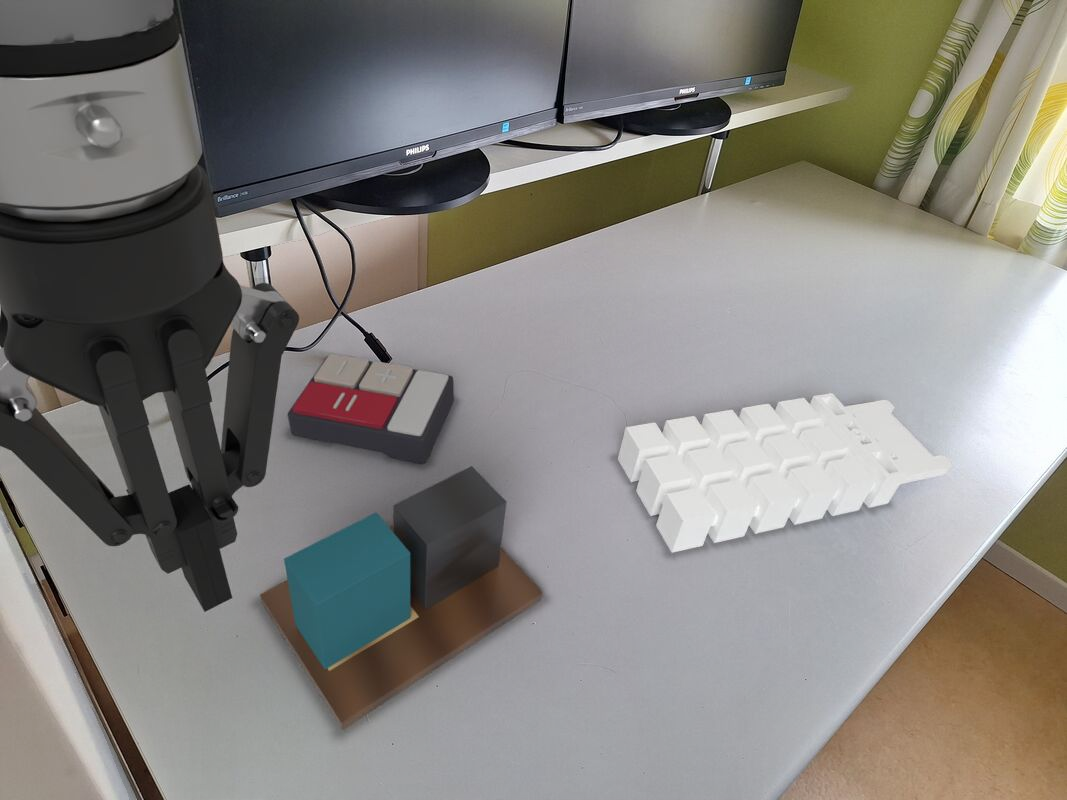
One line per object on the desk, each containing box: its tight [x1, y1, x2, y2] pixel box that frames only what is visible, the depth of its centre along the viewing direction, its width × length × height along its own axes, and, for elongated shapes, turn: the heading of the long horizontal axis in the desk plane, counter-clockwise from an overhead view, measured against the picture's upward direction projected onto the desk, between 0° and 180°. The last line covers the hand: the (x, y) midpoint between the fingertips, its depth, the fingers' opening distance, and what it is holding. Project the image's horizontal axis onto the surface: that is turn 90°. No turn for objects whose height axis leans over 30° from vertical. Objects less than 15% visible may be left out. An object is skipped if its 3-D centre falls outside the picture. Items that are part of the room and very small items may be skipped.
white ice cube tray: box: [617, 392, 952, 554], centre depth 83 cm, size 13×5×35 cm
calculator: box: [287, 353, 455, 465], centre depth 83 cm, size 11×4×15 cm
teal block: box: [283, 511, 410, 669], centre depth 61 cm, size 8×5×9 cm, turn 130°
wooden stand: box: [259, 465, 543, 731], centre depth 64 cm, size 20×14×10 cm
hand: (208, 587), depth 41 cm, fingers closed
